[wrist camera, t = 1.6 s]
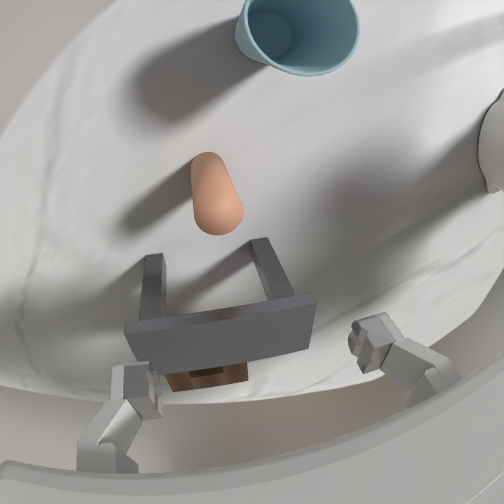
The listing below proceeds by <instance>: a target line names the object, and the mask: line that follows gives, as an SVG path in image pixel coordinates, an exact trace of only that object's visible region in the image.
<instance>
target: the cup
mask: <svg viewBox="0 0 504 504" xmlns="http://www.w3.org/2000/svg"><path fill="white" fill-rule="evenodd" d="M359 35H360V24H359V18H358V14H357V11H356V8H355V6H354V4H353V3H352V1H351V0H245V3H244V6H243V8H242V11H241V13H240V16H239V19H238V21H237V24H236V27H235V35H234V39H235V42H236V44H237V47H238V49H239V50H240V51H241V52H242V53H243V54H244V55H245V56H246V57H248V58H249V59H252V60H255V61H258V62H261V63H264V64H267V65H270V66H272V67H274V68H276V69H279V70H282V71H284V72H287V73H290V74H294V75H299V76H319V75H324V74H327V73H330V72H332V71H334V70H336V69H338V68H339V67H341V66H342V65H343V64H345V63H346V62H347V61H348V60H349V58H350V57H351V56H352V54H353V53H354V51H355V49H356V46H357V44H358V40H359Z"/></svg>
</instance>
